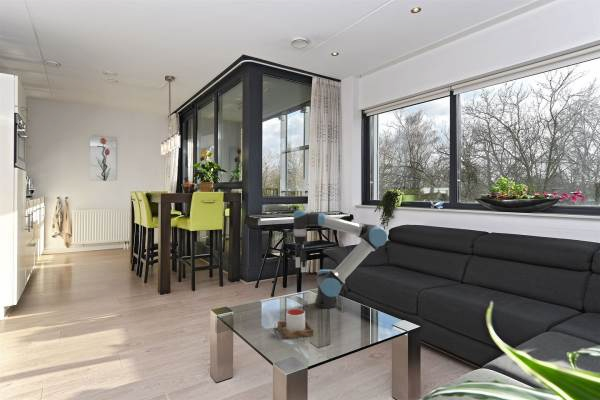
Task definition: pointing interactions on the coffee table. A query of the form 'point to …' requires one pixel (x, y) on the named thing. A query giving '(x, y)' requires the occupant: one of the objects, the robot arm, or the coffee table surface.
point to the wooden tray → (294, 334)
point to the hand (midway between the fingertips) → (300, 269)
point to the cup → (295, 320)
